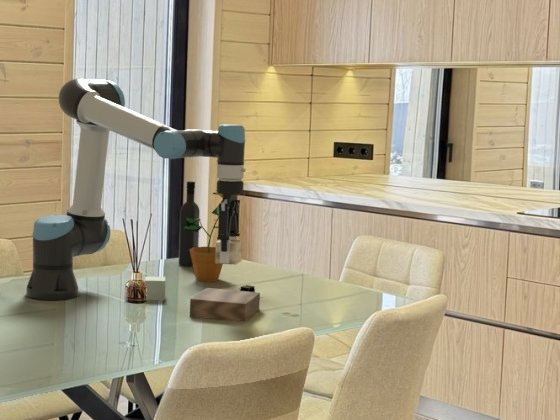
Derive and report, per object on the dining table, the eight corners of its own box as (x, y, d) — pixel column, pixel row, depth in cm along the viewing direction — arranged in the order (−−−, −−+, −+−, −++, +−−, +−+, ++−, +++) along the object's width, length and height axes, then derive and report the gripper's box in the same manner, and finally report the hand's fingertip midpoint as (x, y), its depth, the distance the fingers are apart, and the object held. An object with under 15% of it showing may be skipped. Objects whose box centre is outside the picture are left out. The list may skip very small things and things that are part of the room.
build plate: (246, 306, 286) (246, 291, 286) (225, 302, 290) (226, 288, 289) (267, 299, 297) (267, 284, 296) (246, 295, 300) (247, 281, 300)
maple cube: (215, 263, 270) (215, 242, 269) (221, 259, 276) (221, 239, 275) (235, 264, 269) (236, 243, 268) (241, 261, 274) (241, 240, 274)
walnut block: (189, 316, 268) (190, 298, 268) (206, 304, 284) (207, 287, 283) (244, 321, 265) (245, 304, 264) (259, 309, 280) (259, 292, 280)
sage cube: (144, 300, 286) (145, 280, 285) (144, 295, 292) (145, 276, 291) (164, 300, 287) (165, 280, 286) (164, 296, 293) (165, 276, 292)
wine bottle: (177, 265, 344) (180, 181, 340) (184, 262, 349) (187, 180, 345) (191, 266, 342) (194, 182, 338) (198, 264, 347) (201, 181, 343)
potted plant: (245, 279, 324) (248, 190, 320) (211, 287, 308) (215, 194, 305) (202, 271, 334) (206, 185, 330) (168, 279, 318) (171, 189, 314)
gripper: (234, 183, 259) (231, 267, 262) (251, 177, 278) (249, 256, 281) (207, 181, 261) (205, 265, 264) (226, 176, 279) (224, 254, 282)
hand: (227, 260), depth 272 cm, fingers closed on maple cube, 6 cm apart
